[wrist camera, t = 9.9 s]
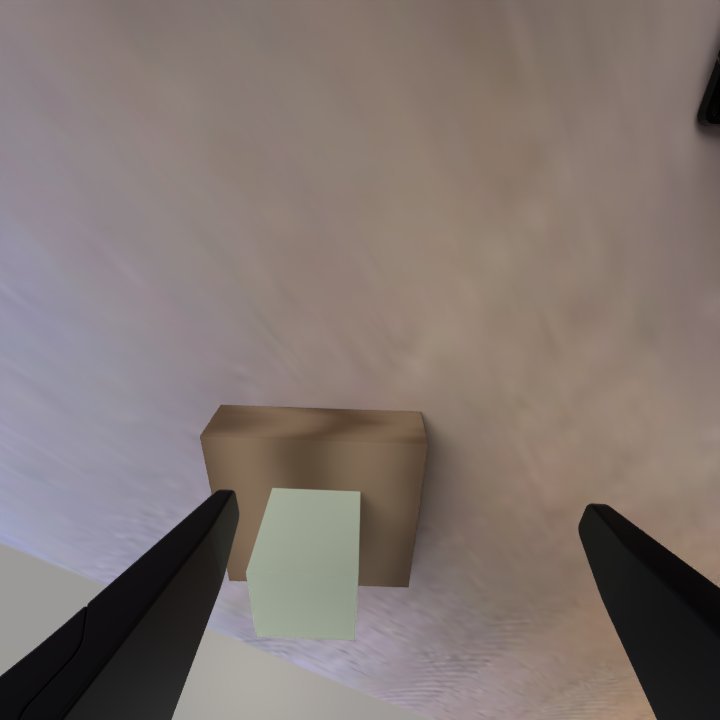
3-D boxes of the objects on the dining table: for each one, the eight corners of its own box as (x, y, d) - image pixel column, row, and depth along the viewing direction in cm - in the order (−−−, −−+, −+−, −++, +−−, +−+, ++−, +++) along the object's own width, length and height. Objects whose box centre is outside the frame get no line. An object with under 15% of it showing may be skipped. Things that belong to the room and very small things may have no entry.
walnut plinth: (420, 412, 22) (428, 444, 19) (404, 546, 27) (408, 587, 24) (220, 405, 22) (199, 436, 19) (243, 541, 27) (229, 580, 24)
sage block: (360, 491, 21) (358, 577, 16) (357, 550, 23) (355, 640, 18) (272, 487, 21) (246, 572, 16) (278, 547, 23) (256, 636, 18)
